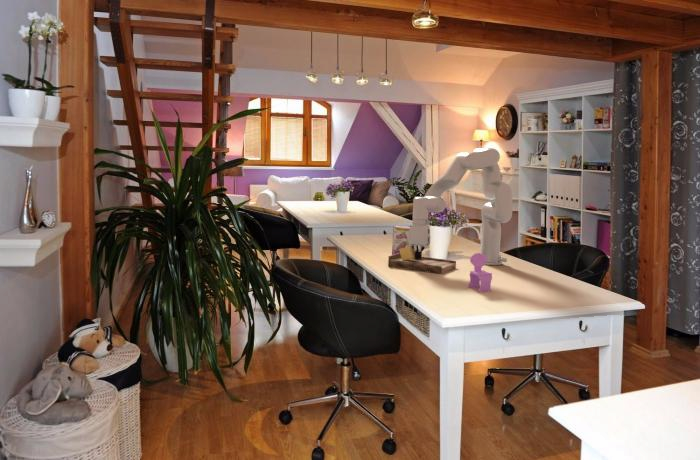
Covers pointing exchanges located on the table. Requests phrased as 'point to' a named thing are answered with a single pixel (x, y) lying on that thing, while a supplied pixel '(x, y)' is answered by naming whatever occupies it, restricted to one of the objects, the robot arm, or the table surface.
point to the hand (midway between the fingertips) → (418, 259)
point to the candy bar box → (400, 238)
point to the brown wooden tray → (422, 264)
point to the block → (407, 253)
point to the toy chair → (480, 273)
